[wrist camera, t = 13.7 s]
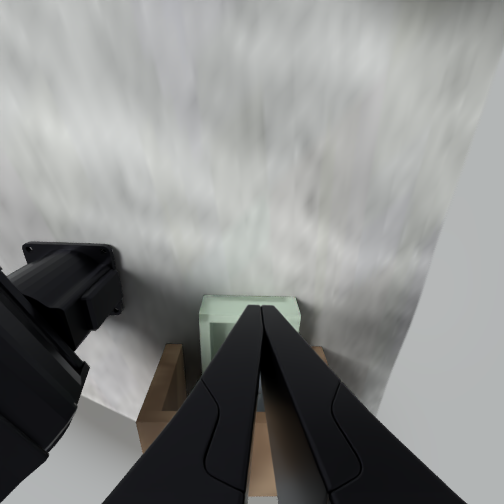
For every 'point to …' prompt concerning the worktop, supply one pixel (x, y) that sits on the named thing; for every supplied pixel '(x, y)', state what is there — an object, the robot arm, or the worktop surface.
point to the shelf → (171, 399)
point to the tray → (234, 318)
